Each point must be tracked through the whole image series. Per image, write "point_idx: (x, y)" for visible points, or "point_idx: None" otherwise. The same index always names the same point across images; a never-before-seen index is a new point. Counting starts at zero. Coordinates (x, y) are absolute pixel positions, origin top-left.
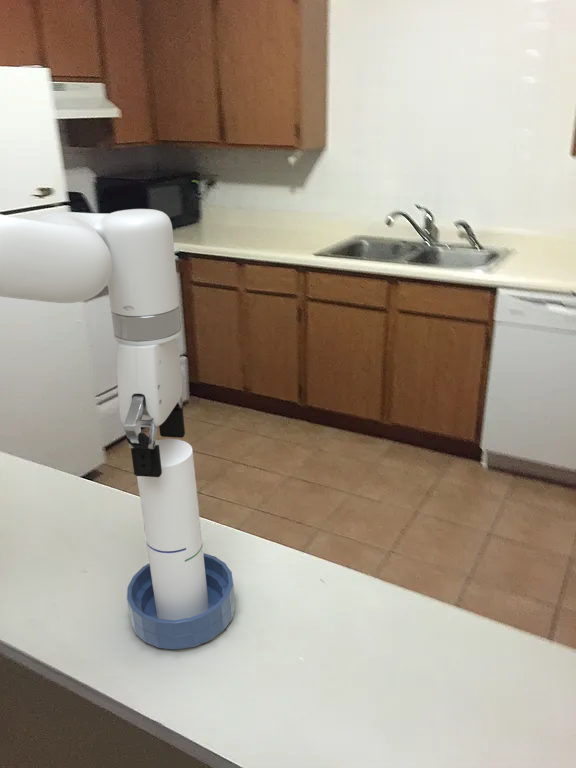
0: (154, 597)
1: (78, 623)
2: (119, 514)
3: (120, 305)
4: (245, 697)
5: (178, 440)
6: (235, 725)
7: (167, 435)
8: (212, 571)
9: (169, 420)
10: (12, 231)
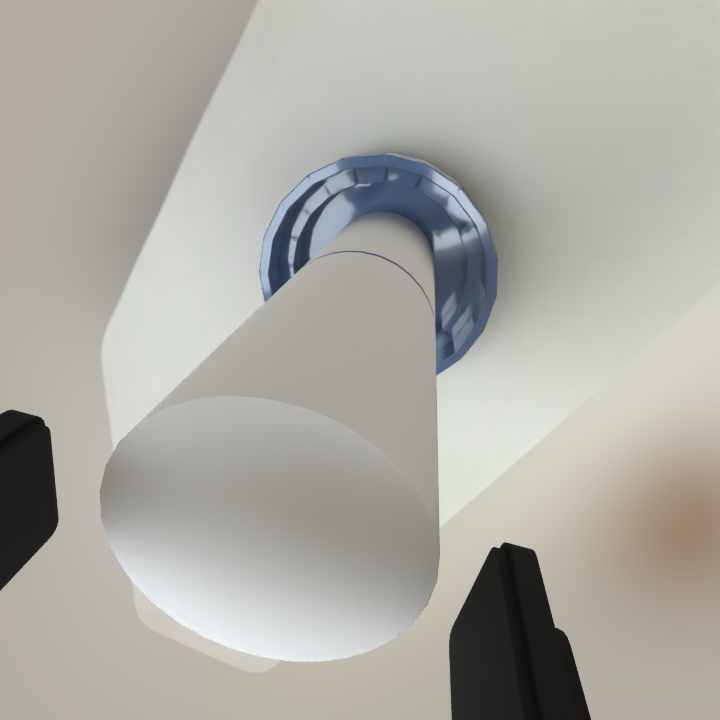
0: (359, 221)
1: (385, 13)
2: None
3: None
4: (195, 358)
5: (402, 621)
6: (149, 341)
7: (479, 581)
8: (450, 338)
9: (484, 718)
10: None
